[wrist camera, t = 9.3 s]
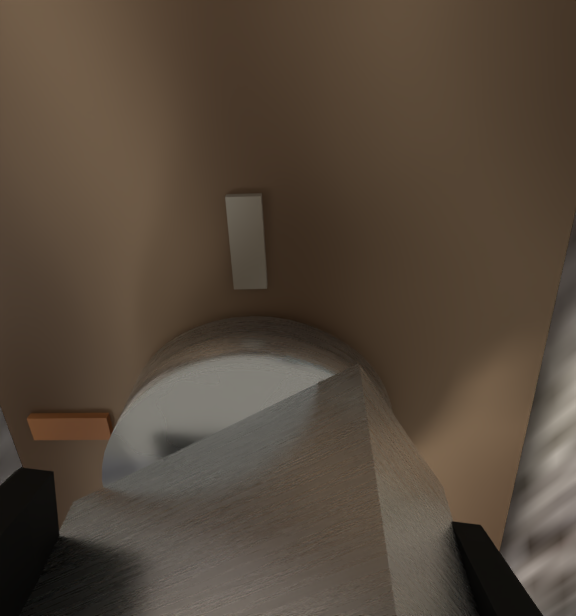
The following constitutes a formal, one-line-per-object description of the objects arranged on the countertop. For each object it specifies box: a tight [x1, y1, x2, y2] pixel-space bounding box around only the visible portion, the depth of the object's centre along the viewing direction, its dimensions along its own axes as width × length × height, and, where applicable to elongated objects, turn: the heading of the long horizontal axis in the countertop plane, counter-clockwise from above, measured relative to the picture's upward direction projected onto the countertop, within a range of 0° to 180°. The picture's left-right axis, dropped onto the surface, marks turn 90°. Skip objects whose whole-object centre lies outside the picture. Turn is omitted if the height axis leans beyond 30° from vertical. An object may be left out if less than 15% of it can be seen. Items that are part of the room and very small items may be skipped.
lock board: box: [0, 0, 576, 551], centre depth 14 cm, size 13×20×2 cm, turn 2°
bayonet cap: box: [19, 316, 480, 616], centre depth 10 cm, size 6×7×7 cm
